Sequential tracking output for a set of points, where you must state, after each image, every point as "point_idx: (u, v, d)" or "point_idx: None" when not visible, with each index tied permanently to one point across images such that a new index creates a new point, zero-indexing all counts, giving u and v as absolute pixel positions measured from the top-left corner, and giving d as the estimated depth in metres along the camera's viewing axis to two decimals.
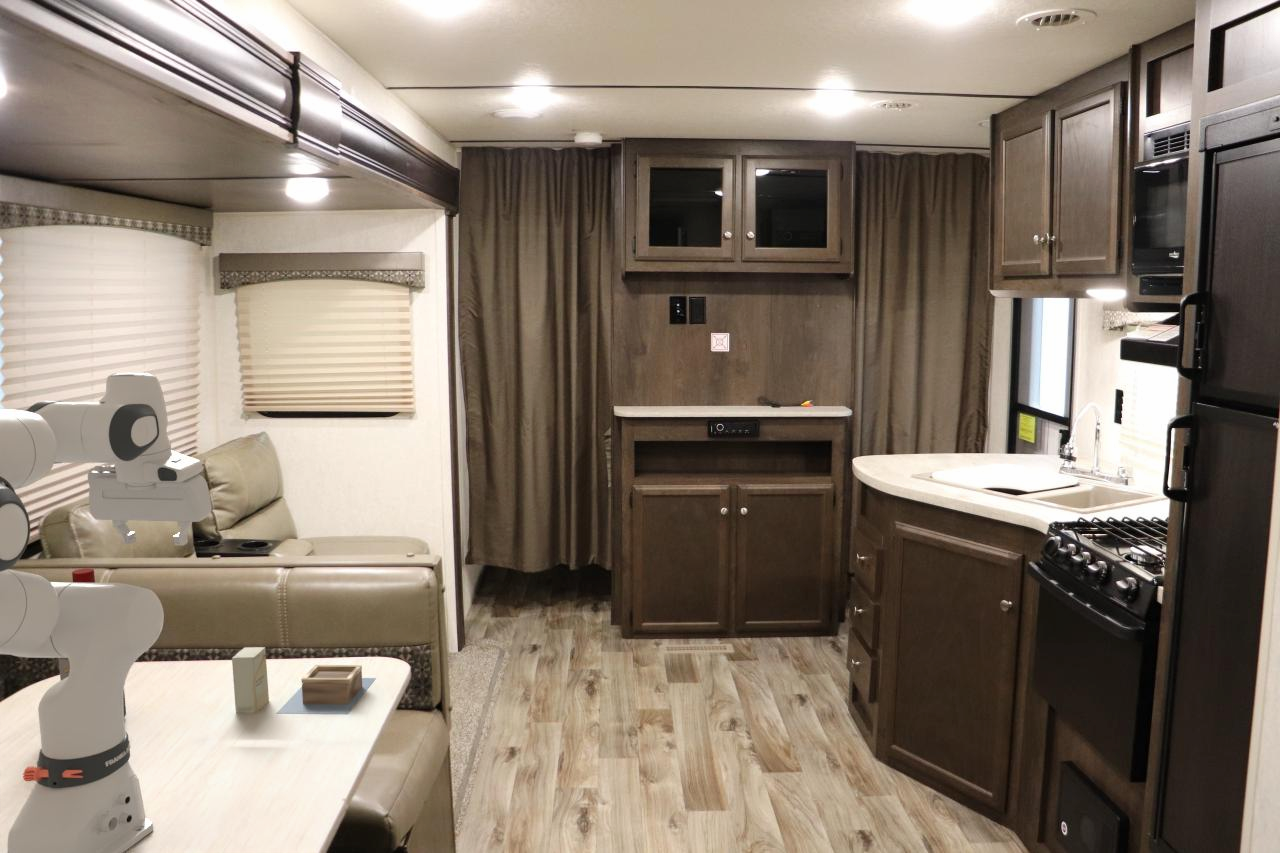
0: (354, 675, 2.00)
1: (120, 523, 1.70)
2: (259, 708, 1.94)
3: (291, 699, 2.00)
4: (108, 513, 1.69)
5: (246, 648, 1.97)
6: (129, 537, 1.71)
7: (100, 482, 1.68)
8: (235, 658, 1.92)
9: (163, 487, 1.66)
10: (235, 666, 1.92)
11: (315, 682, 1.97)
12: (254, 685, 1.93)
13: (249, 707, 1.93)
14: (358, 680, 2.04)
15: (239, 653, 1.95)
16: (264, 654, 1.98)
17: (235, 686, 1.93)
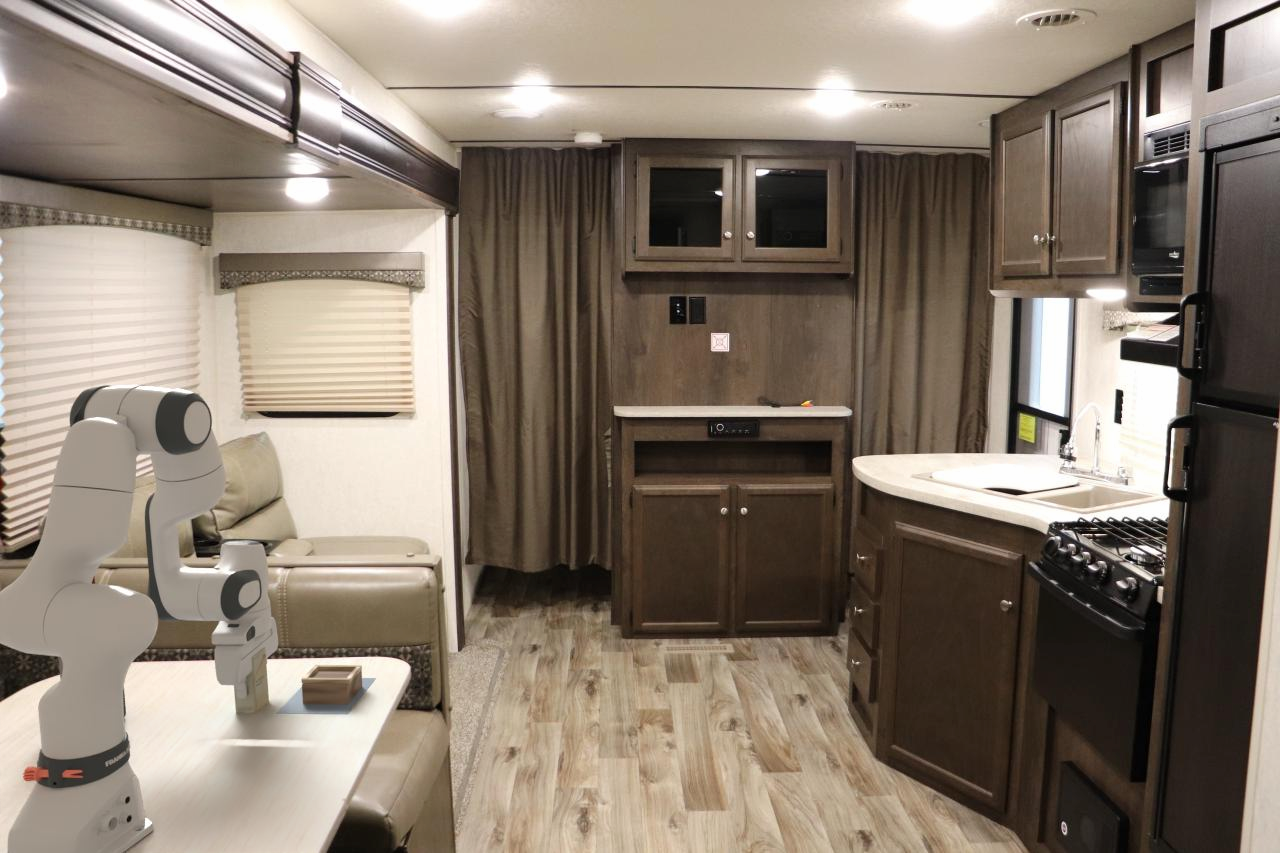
0: (354, 675, 2.00)
1: None
2: (259, 708, 1.94)
3: (291, 699, 2.00)
4: None
5: None
6: None
7: None
8: None
9: None
10: None
11: (315, 682, 1.97)
12: (254, 685, 1.93)
13: (249, 707, 1.93)
14: (358, 680, 2.04)
15: None
16: (264, 654, 1.98)
17: None
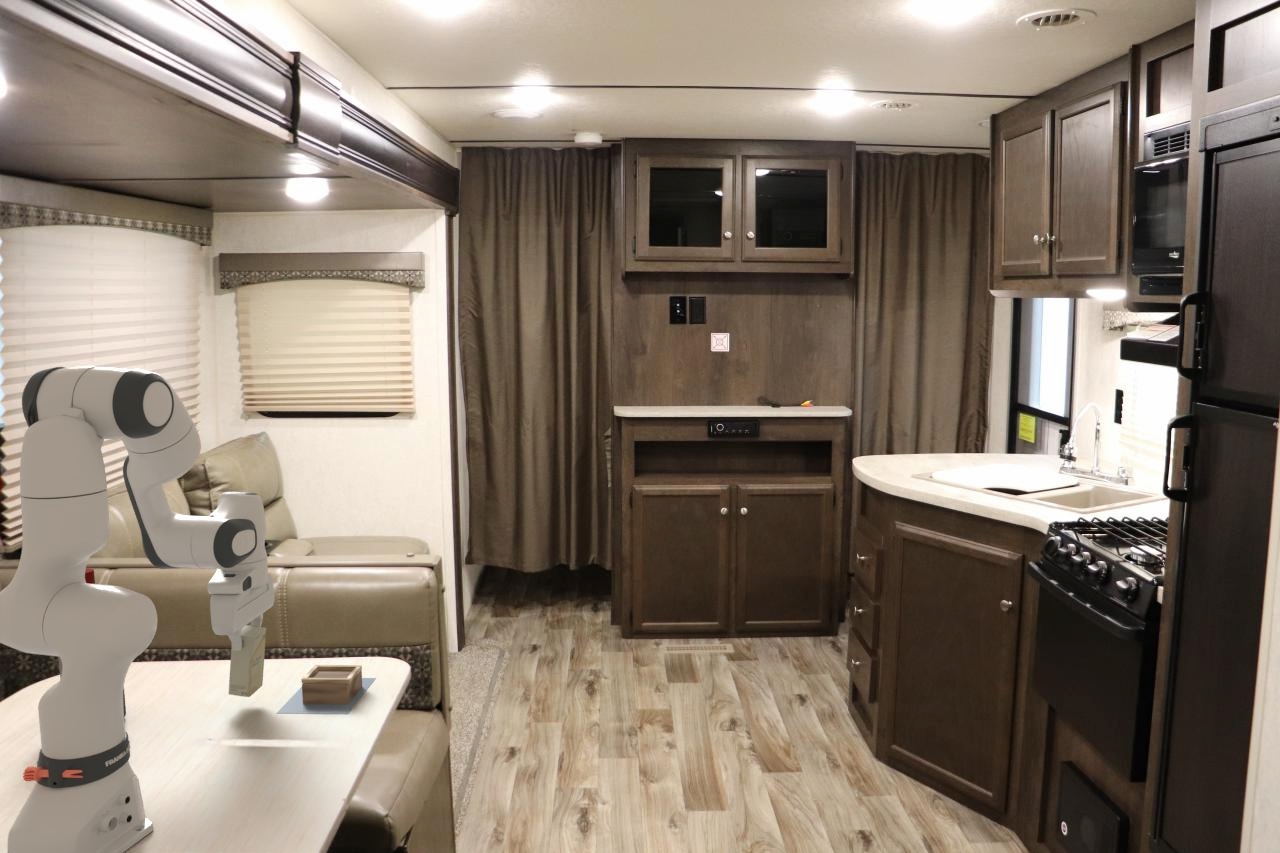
0: (354, 675, 2.00)
1: None
2: (252, 688, 1.93)
3: (291, 699, 2.00)
4: None
5: (247, 626, 1.96)
6: None
7: None
8: None
9: None
10: None
11: (315, 682, 1.97)
12: (251, 665, 1.92)
13: (243, 686, 1.92)
14: (358, 680, 2.04)
15: None
16: (265, 634, 1.96)
17: (232, 663, 1.92)
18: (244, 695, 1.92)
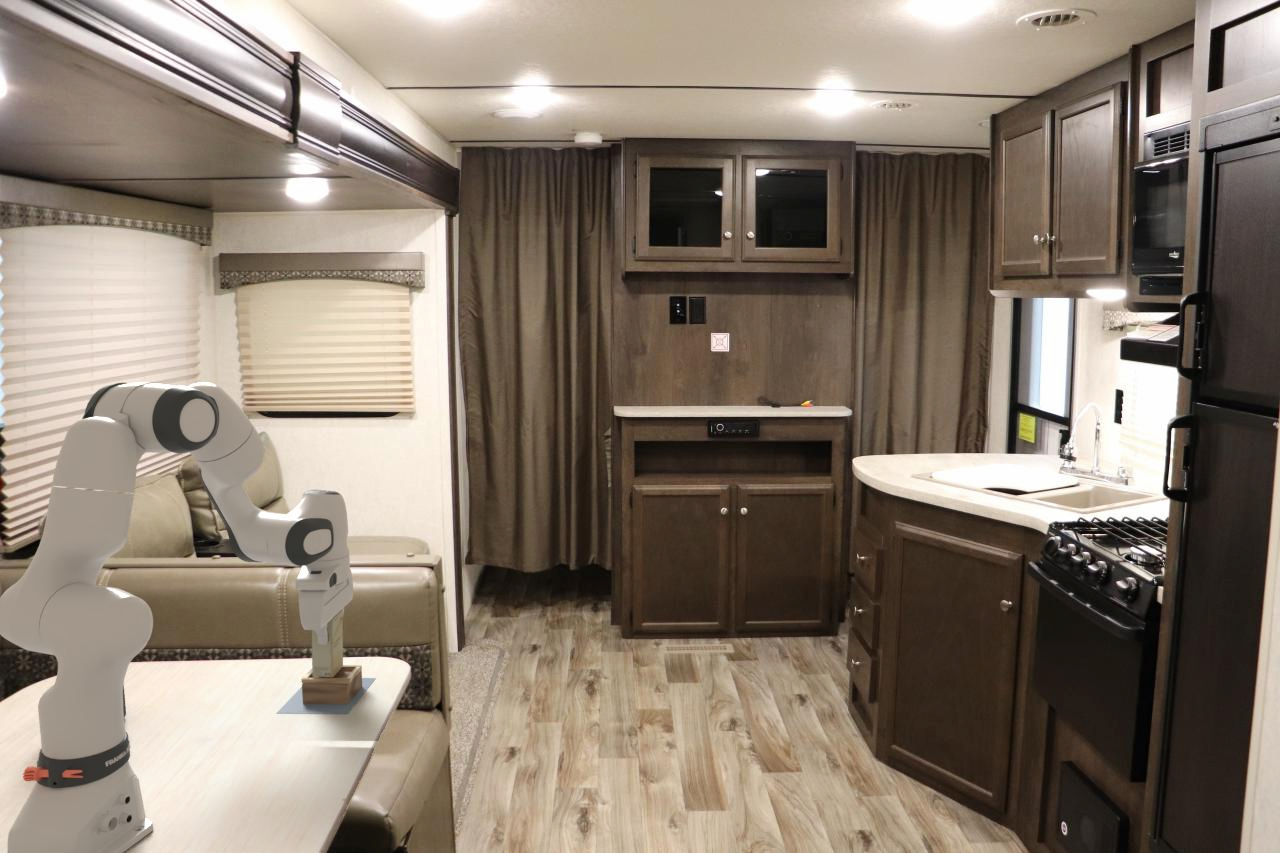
0: (354, 675, 2.00)
1: None
2: (335, 669, 1.99)
3: (291, 699, 2.00)
4: None
5: None
6: None
7: None
8: None
9: None
10: None
11: (315, 682, 1.97)
12: (332, 646, 1.97)
13: (325, 667, 1.98)
14: (358, 680, 2.04)
15: None
16: (341, 616, 2.02)
17: (313, 646, 1.97)
18: (327, 676, 1.98)
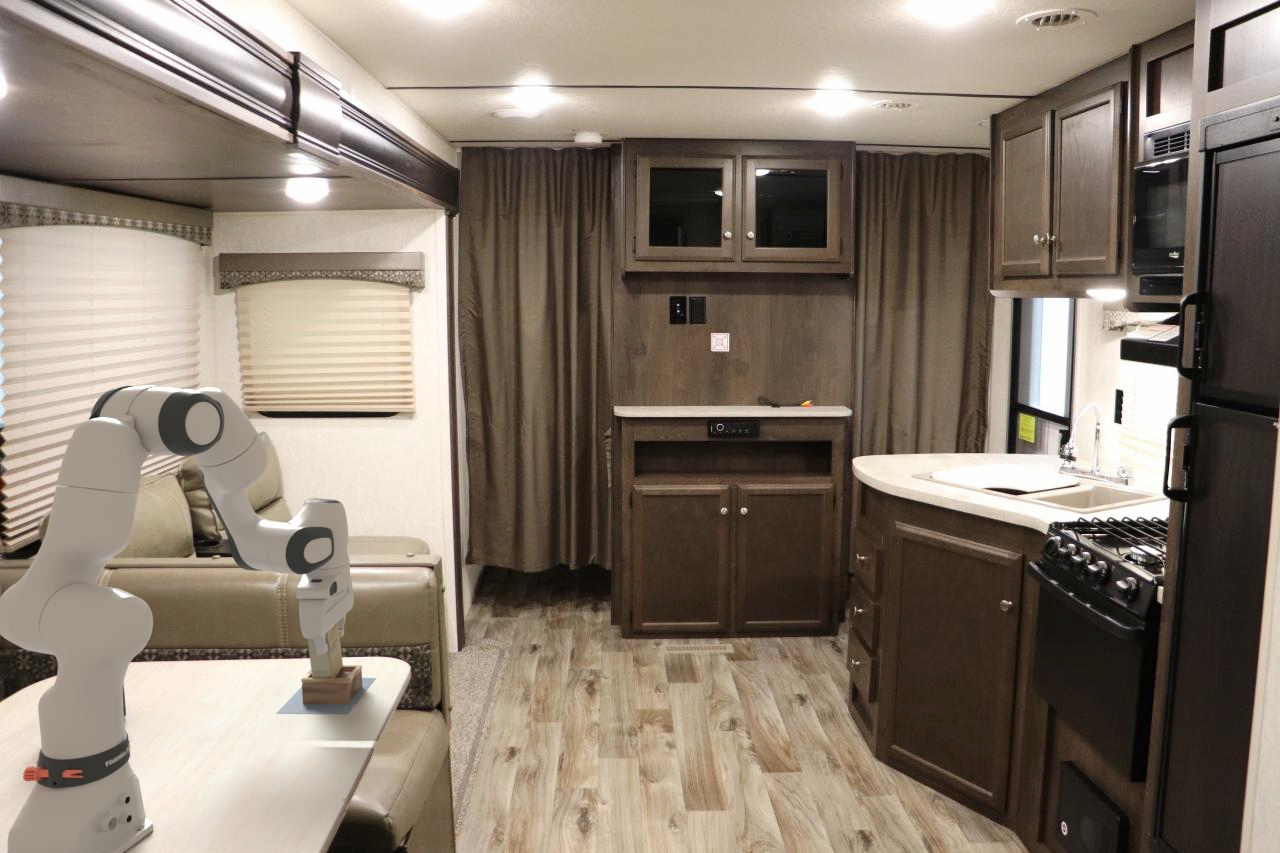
0: (354, 675, 2.00)
1: None
2: (334, 671, 1.99)
3: (291, 699, 2.00)
4: None
5: None
6: None
7: None
8: None
9: None
10: None
11: (315, 682, 1.97)
12: (329, 651, 1.97)
13: (325, 671, 1.98)
14: (358, 680, 2.04)
15: None
16: None
17: (310, 651, 1.97)
18: None
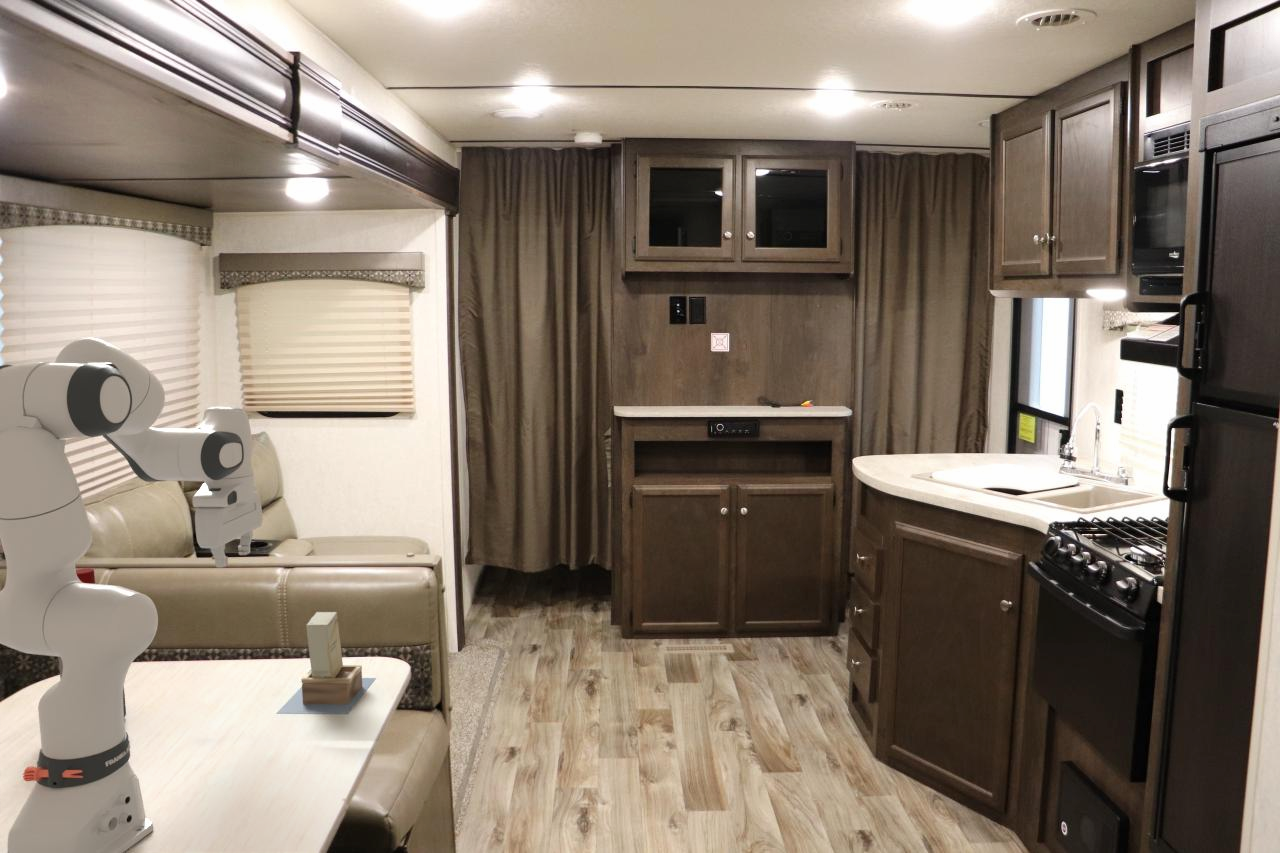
0: (354, 675, 2.00)
1: None
2: (334, 671, 1.99)
3: (291, 699, 2.00)
4: None
5: (318, 613, 2.01)
6: (238, 548, 1.98)
7: None
8: (309, 625, 1.96)
9: None
10: (309, 633, 1.96)
11: (315, 682, 1.97)
12: (329, 651, 1.97)
13: (325, 671, 1.98)
14: (358, 680, 2.04)
15: (312, 619, 1.98)
16: (336, 618, 2.01)
17: (310, 651, 1.97)
18: None
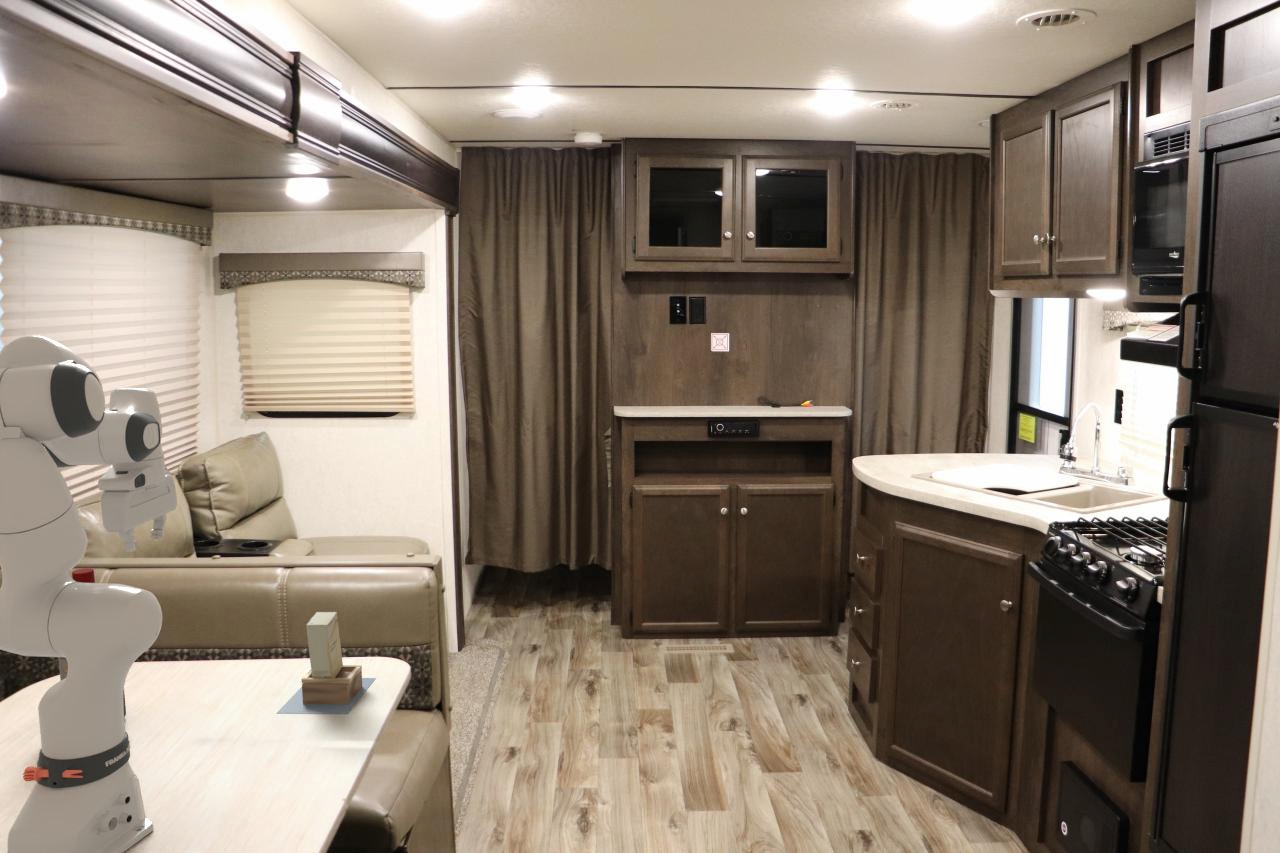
0: (354, 675, 2.00)
1: None
2: (334, 671, 1.99)
3: (291, 699, 2.00)
4: None
5: (318, 613, 2.01)
6: (151, 532, 1.95)
7: None
8: (309, 625, 1.96)
9: None
10: (309, 633, 1.96)
11: (315, 682, 1.97)
12: (329, 651, 1.97)
13: (325, 671, 1.98)
14: (358, 680, 2.04)
15: (312, 619, 1.98)
16: (336, 618, 2.01)
17: (310, 651, 1.97)
18: None
